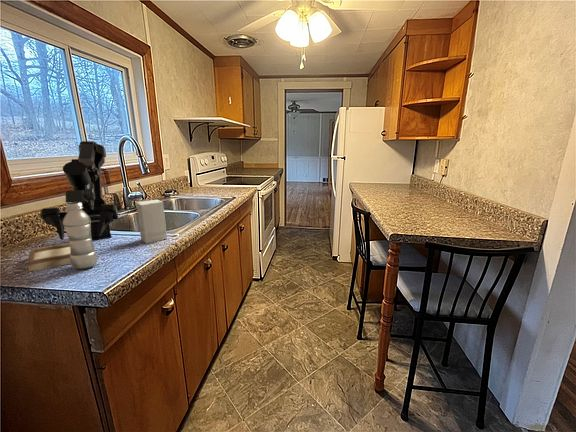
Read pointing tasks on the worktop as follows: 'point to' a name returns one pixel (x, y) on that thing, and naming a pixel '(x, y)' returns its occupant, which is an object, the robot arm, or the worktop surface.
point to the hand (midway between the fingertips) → (80, 237)
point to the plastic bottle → (79, 236)
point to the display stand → (49, 257)
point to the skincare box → (151, 221)
